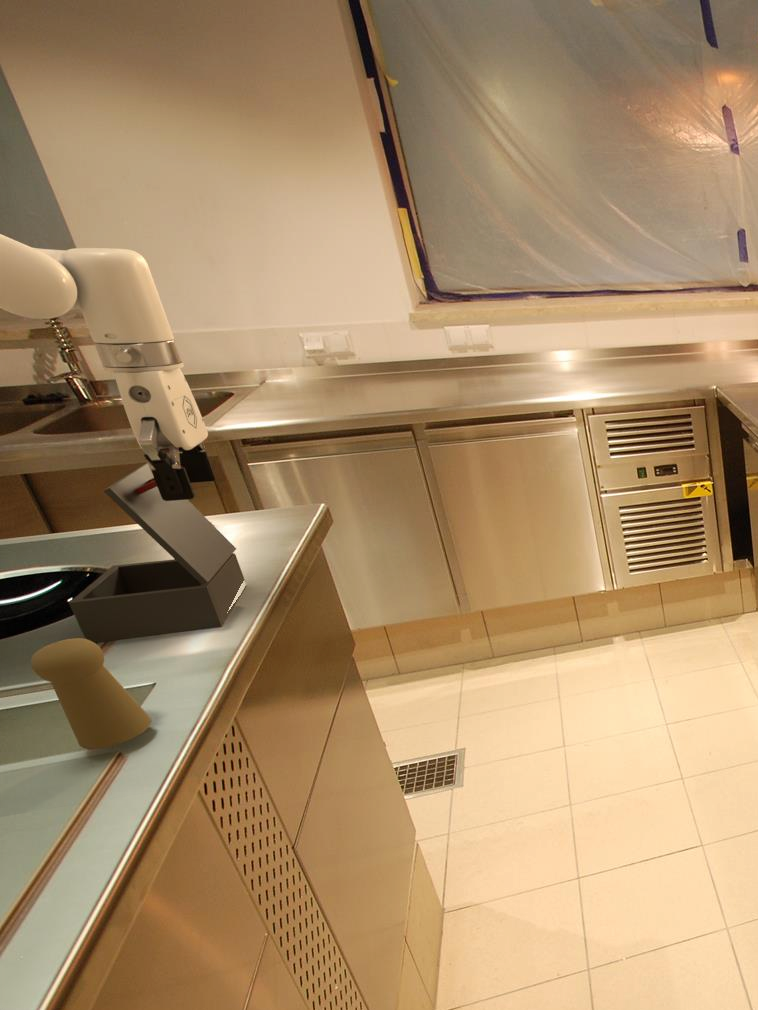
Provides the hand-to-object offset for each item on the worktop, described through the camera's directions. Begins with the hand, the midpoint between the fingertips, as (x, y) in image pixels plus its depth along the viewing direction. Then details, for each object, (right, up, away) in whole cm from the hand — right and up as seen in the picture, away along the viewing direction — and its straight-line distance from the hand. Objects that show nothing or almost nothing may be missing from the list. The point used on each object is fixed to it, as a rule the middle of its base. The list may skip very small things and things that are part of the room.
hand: (190, 490), depth 112 cm
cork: (+11, -30, -21) cm, 39 cm away
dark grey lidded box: (-6, -18, +5) cm, 19 cm away
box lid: (-3, -4, +1) cm, 5 cm away
